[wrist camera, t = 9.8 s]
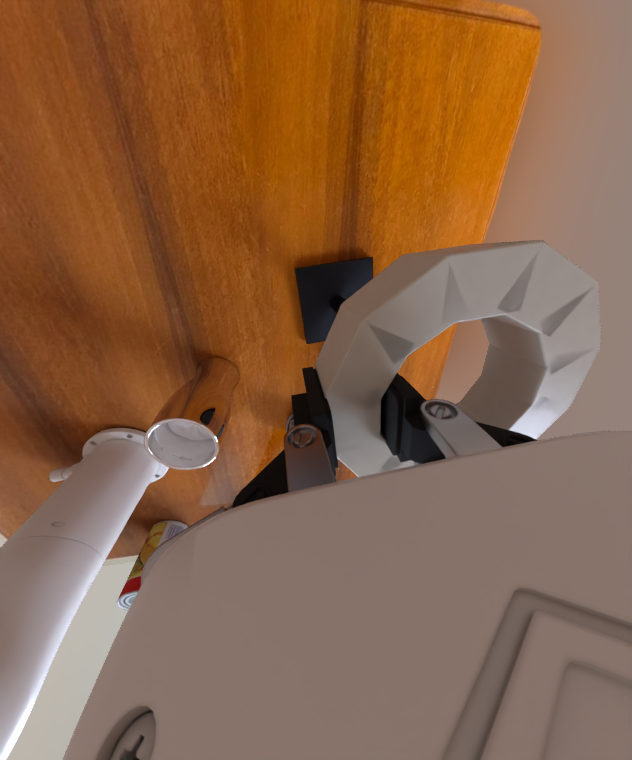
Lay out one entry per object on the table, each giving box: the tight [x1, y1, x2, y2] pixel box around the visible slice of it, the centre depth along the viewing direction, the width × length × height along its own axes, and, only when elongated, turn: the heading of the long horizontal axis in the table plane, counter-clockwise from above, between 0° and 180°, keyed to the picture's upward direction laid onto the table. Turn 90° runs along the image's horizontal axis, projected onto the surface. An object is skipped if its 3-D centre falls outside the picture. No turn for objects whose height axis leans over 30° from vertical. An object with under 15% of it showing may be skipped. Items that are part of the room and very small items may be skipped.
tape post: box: [295, 257, 373, 344], centre depth 27 cm, size 10×10×12 cm
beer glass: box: [144, 357, 239, 470], centre depth 28 cm, size 7×7×15 cm
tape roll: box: [315, 240, 601, 477], centre depth 11 cm, size 11×11×3 cm
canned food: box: [117, 521, 188, 611], centre depth 45 cm, size 8×8×12 cm
